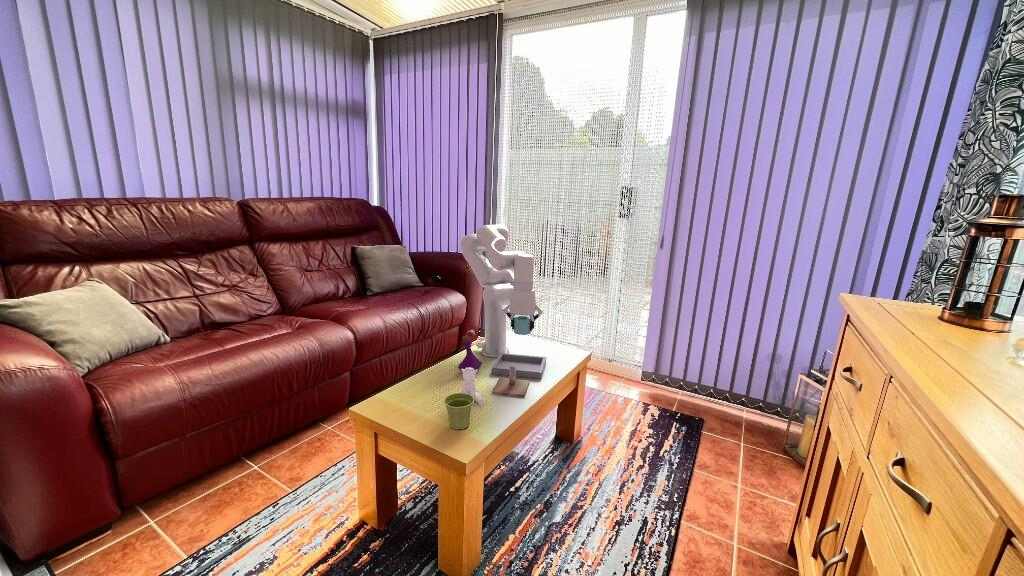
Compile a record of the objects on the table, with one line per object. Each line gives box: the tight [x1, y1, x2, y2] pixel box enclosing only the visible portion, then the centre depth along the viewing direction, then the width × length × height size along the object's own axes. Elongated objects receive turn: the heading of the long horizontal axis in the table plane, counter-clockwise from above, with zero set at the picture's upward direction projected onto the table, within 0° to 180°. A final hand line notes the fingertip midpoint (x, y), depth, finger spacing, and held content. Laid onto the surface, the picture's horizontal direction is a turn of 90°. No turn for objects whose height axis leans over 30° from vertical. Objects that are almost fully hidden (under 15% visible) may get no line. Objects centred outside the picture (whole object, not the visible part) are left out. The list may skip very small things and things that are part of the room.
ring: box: [513, 315, 532, 336], centre depth 166 cm, size 7×8×6 cm
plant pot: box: [443, 392, 475, 430], centre depth 129 cm, size 9×9×9 cm
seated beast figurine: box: [459, 367, 484, 406], centre depth 145 cm, size 10×9×12 cm
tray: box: [491, 353, 547, 381], centre depth 172 cm, size 20×16×3 cm
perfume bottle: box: [457, 329, 483, 374], centre depth 166 cm, size 8×8×18 cm
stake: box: [491, 366, 531, 398], centre depth 154 cm, size 12×12×8 cm
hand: (522, 329), depth 166 cm, fingers closed on ring, 6 cm apart
